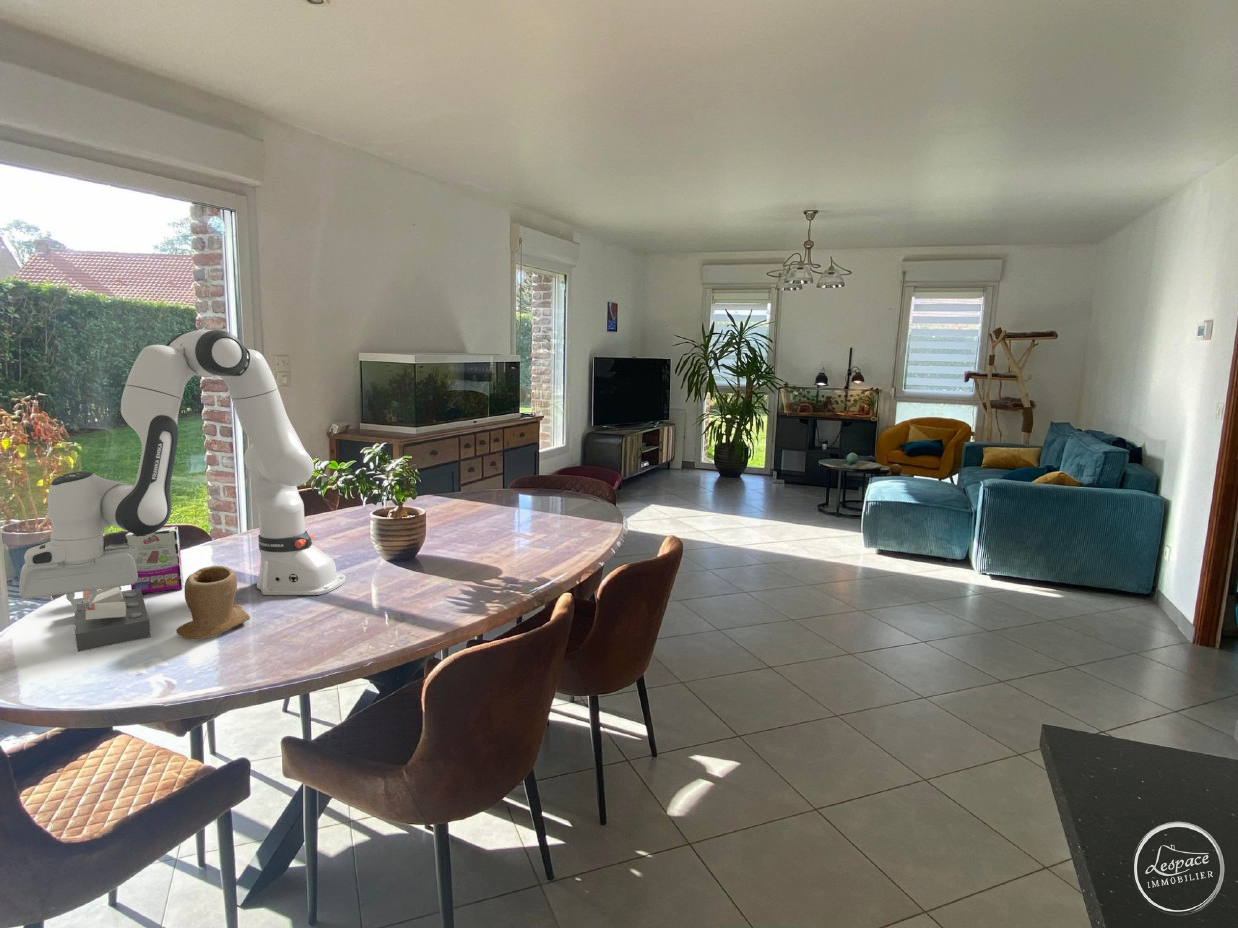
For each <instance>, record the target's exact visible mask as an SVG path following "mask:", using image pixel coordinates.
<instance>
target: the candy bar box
mask: <svg viewBox="0 0 1238 928" xmlns="http://www.w3.org/2000/svg"><path fill="white" fill-rule="evenodd" d="M125 543H128V544H129V545H133V546H135V547H136V548H137V549H138V559H137V560H136V561H135V564H136V569H137V574H138V580H137V582H136V583H135V584H133V585H130V588H131V589H130V590H133V589H139V588H141V592H142V595H143V596H144V595H151V594H157V593H160V594H161V593H167V592H174V591H181V590H183V586H184V585H185V582H184V575H183V573H184V572H183V565H182V556H181V555H182V554H181V549H180V548H181V546H180V537H179V528H178V526H177V525H174V526H166V527H165V526H163V527H162V528H161V529H159V530H158V531H156V532H154V533H151V534H148V535H136V534H133V533H131V532H128V531H127V533H126V534H125ZM129 548H131V547H129Z"/></svg>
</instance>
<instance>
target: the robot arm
mask: <svg viewBox="0 0 1238 928" xmlns="http://www.w3.org/2000/svg"><path fill="white" fill-rule="evenodd" d="M195 376H197V377H202V378H203V377H205V378H208V377H209V378H211V377H215V376H217V377H220V378H221V379H222V380H223V381H224V382H225V384H226V386H227V390H228V392H229V396H230V399H231V401H232V404H233V407H234V411H235V412H236V416H237V418H238V422H239V424H240V427H241V429H242V431H243V432H244V433H245V435H246V436H247V438H248V439H249V440H250V442H251V444H250V445H249V446H248V447H247V448H246V450H245V453H244V456H243V457H244V459H243V460H244V464H245V466H246V468H247V470H248V473H249V477H250V482H251V485H252V489H253V492H254V497H255V500H256V505H257V513H258V525H259V526H258V527H259V534H258V549H259V552H260V561H259V562H260V564H259V574H258V579H257V583H256V588H257V589H259V590H260V591H261V594H262V595H263V596H316V595H318V596H319V595H324V594H326V593H329V592H332V591H333V590H336V589H337V588H339V587H341V585H343V584H344V583H345V582H346V580H347V577H346V574H344V573H338V572H337V567H336V564H335V560H334V559H333V558H332V557H331V556H329V555H328V554H326V553H324V552H323V551H322V550H320V549H319V548H318V547H316V546H315V545H313V542H312V540H314V539H316V538H315V536H316V535H315V533H314V534H312V535H309V533H308V531H307V530H306V523H305V505H304V501H303V499H302V498H301V495H300V493H299V490H298V487H299V486H303V485H304V484H306V483H307V482H308V481H310V479H311V478H312V476H313V474H314V470H315V465H314V461H313V459H312V457H311V456H310V454H309V453H308V452H307V450H306V448H305V447H304V446H303V443H302V441H301V439H300V437H299V435H298V433H297V431H296V430H295V429H294V426H293V425H292V422H291V421H290V419H289V415H287V414H288V413H287V412H286V409H285V406H284V403H283V399H282V397H281V393H280V391H279V387H278V384H277V381H276V378H275V376H274V374H273V372H272V370H271V368H270V365H269V363H268V362H267V360H266V359H265V357H264V355H263V354H262V353H260V352H259V351H258V350H255V349H251V348H247V347H246V346H244V344H243V342H242V341H241V340H240V339H239V338H238V337H237V336H235V335H234V334H232V333H230V332H227V331H224V330H221V329H197V330H194V331H186V332H182V333H179V334H177V335H176V336H174V337H173V338H172V339H171V340H170V341H169V342H167V343H166V344H165V345H164V344H152V345H151V344H150V345H147V346H145V347H143V349H142V350H141V351H140V352H139V354H138V355H137V357H136V359H135V362H134V363H133V365H132V367H131V370H130V372H129V374H128V377H127V379H126V382H125V386H124V388H123V389H124V390H123V392H122V396H121V401H120V414H121V416H122V418H123V420H124V421H125V423H127V425H128V426H129V427H131V428H132V429H133V430H134V432H135V434H137V436H138V438H139V439H140V442H141V454H140V459H139V464H138V471H137V475H136V479H135V480H136V481H135V482H134V484H130V483H127V482H121V481H117V480H116V481H115V480H112V479H108V478H104V477H102V476H99V475H96V474H94V472H92V471H84V470H83V471H75V472H69V473H65V474H62V475H59V476H57V477H55V478H54V479H52V481H51V483H50V484H49V488H48V493H47V496H48V497H47V512H48V519H49V522H50V523H51V532H50V536H49V537H50V541H47V542H45V543H43V544H42V543H41V544H40V545H36V546H34V547H31V548H29V549H27V550H26V551H25V552H24V555H23V558H24V564H23V566H22V568H21V571H20V576H19V583H18V593H19V595H18V596H20V597H21V598H22V599H23V600H30V599H36V598H44V597H51V596H53V597H54V596H59V595H60V596H61V595H66V596H65V597H66V600H68V602H69V603H70V604H71V605H72V606H73V611H74V612H73V613H75V612H79V611H83V608H84V611H86V609H88V608H92V602H93V600H94V599H95V597H96V595H97V589H104V588H111V587H119V586H121V587H124V586H126V587H127V586H131V585H133V584H135V583H136V582H137V580H138V574H137V569H136V564H135V561H136V560H137V559H138V549H137V548H136V547H135V546H133V545H129V544H128V543H126V542H124V543H120V544H109V545H108V544H107V545H104V544H105V543H104V532H103V531H104V528H105V527H108V526H109V527H111V526H112V527H115V528H119V529H123V530H125V531H126V532H127V533H128V532H131V533H133V534H136V535H148V534H151V533H154V532H156V531H158V530H159V529H161V528H163V527H165V526H166V524H167V523H168V522H169V519H170V517H171V514H172V510H173V509H172V498H171V483H172V478H173V477H172V475H173V472H174V466H175V460H176V459H175V458H176V456H177V455H176V453H177V449H178V441H179V428H178V427H179V426H178V421H179V420H178V418H179V412H180V408H181V404H182V400H183V396H184V392H185V388H186V387H187V384H188V382H189V381H190V380H191V379H192V377H195ZM129 547H131V548H129ZM83 591H89V595H90V597H89V599H88V600H87V601H83V607H82V601H81V602H77V601H76V600H75V599H76V598H75V597H76V596H75V595H76V594H75V593H80V592H82V593H83Z"/></svg>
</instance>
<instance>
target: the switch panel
mask: <svg viewBox="0 0 1238 928" xmlns="http://www.w3.org/2000/svg"><path fill="white" fill-rule="evenodd" d="M121 592H122V595H123V600H122V601H119V602H124V601H125V604H126V617H113V618H101V619H88V620H86V615H85V611H84V608H83V611H79V612H74V632H75V633H74V635H75V642H76V651H77V652H83V651H84V652H85V651H88V650H89V651H90V650H93V649H98V648H104V647H108V646H112V645H119V644H124V643H127V642H128V643H129V642H132V641H138V640H143V639H147V638H151V637H152V635H151V634H152V633H151V624H150V618H149V615H148V611H147V607H146V604H145V599H144V595H142V592H141V588H139V589H133V590H131V589H128V590H127V589H126V590H122V591H121ZM74 599H75V600H76V601H77V602H81V601H82V607H83V600H84V598H83V597H79V598H74Z"/></svg>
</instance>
